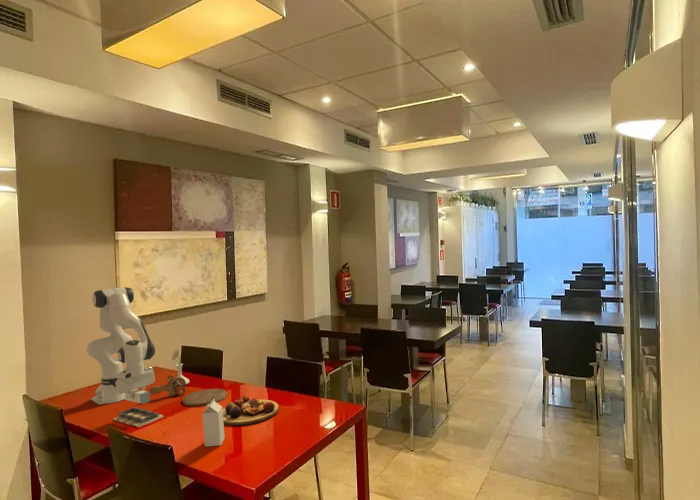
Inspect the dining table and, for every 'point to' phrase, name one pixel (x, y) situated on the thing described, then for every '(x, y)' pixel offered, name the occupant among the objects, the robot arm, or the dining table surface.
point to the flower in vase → (179, 366)
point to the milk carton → (213, 424)
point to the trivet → (204, 397)
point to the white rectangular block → (138, 396)
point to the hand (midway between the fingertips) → (137, 396)
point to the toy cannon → (170, 386)
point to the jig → (137, 417)
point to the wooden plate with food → (248, 411)
